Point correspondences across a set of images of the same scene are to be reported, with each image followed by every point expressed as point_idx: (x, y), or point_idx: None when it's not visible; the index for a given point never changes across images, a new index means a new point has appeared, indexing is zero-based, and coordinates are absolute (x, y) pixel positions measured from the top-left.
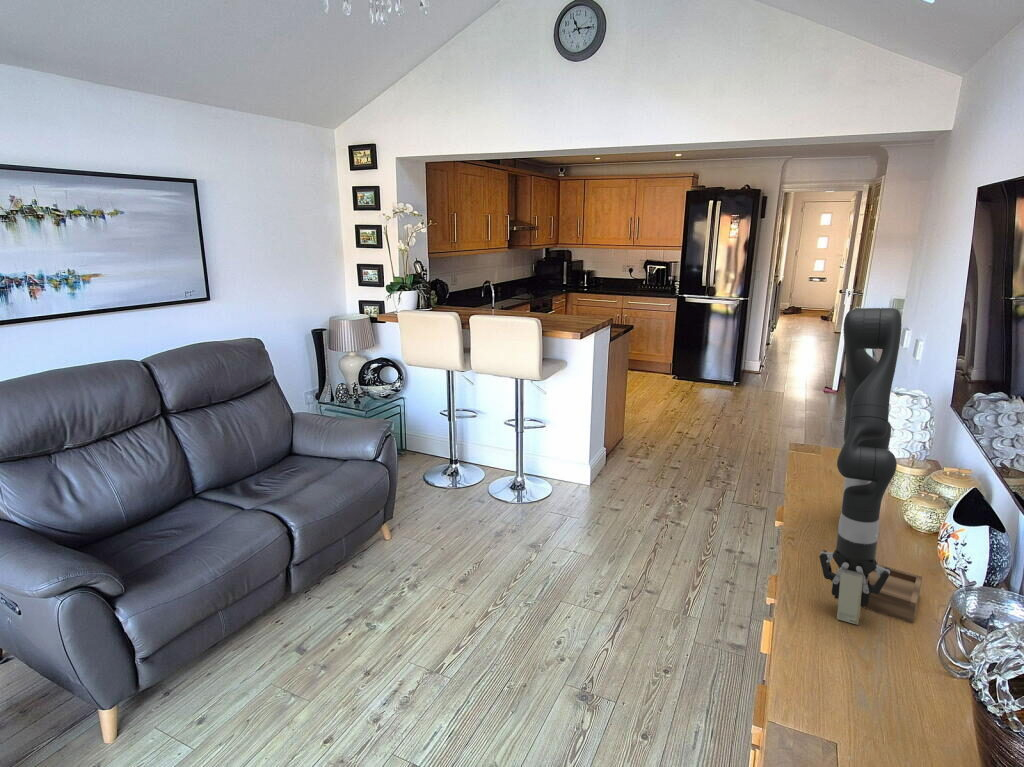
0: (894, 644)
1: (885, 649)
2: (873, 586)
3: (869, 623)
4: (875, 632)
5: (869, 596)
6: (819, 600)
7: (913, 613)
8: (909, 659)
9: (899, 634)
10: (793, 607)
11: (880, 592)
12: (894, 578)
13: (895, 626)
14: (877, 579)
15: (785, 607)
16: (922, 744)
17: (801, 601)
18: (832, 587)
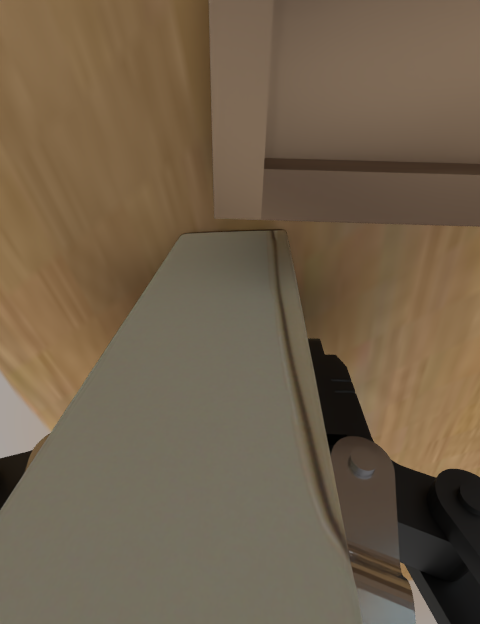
0: (417, 382)
1: (379, 415)
2: (421, 558)
3: (330, 307)
4: (352, 352)
5: (356, 403)
6: (78, 249)
7: None
8: (451, 423)
9: (456, 318)
10: (29, 358)
11: (465, 223)
12: None
13: (455, 268)
14: None
15: (9, 371)
16: (406, 570)
17: (23, 303)
18: None
